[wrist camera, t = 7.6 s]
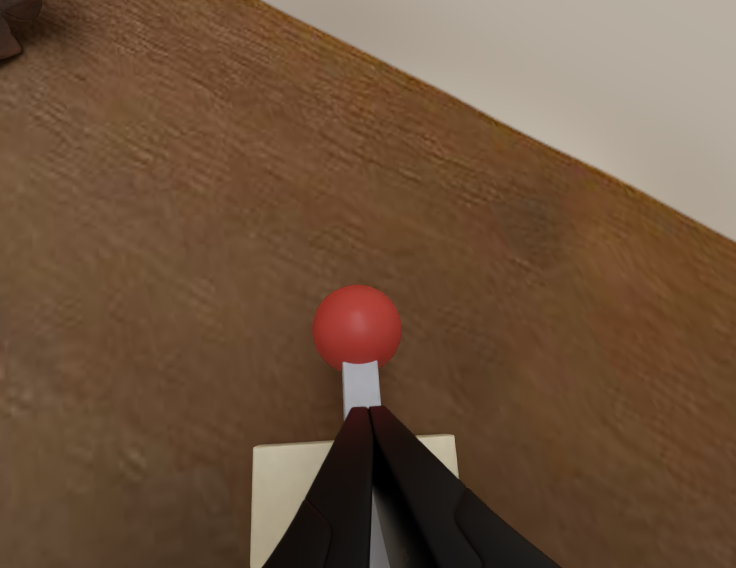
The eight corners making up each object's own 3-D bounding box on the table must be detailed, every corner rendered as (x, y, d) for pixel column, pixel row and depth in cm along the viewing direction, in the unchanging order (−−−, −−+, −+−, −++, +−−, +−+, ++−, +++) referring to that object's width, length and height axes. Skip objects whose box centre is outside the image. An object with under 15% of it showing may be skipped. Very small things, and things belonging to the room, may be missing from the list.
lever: (314, 311, 16) (309, 268, 14) (391, 308, 16) (402, 266, 14) (315, 753, 10) (308, 829, 8) (438, 738, 10) (472, 805, 8)
